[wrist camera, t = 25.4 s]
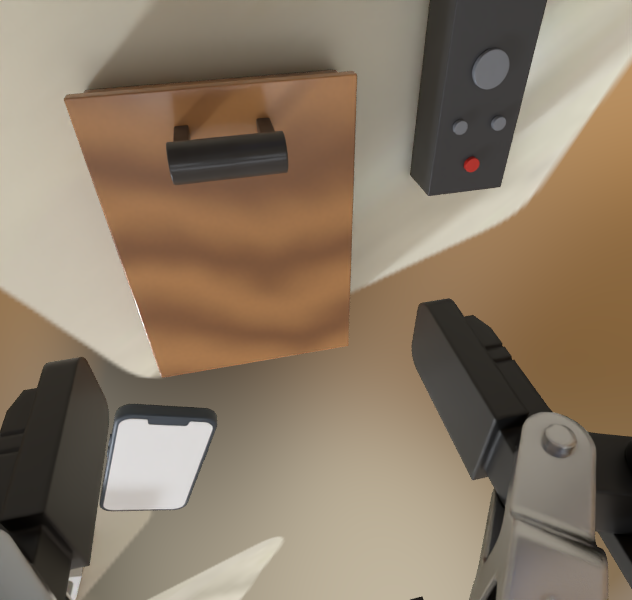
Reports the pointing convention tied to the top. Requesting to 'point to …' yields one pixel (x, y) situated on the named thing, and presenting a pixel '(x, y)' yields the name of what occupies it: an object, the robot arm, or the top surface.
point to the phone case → (155, 456)
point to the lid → (229, 212)
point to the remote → (472, 91)
